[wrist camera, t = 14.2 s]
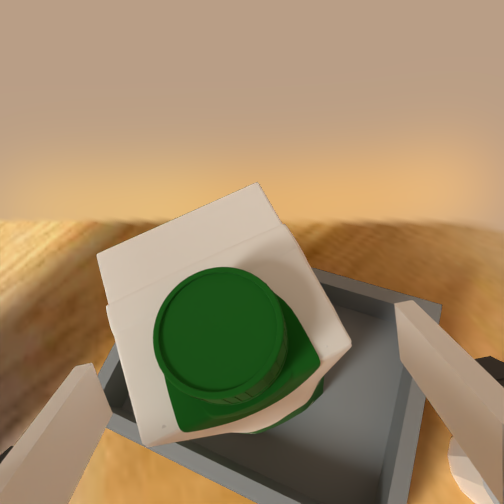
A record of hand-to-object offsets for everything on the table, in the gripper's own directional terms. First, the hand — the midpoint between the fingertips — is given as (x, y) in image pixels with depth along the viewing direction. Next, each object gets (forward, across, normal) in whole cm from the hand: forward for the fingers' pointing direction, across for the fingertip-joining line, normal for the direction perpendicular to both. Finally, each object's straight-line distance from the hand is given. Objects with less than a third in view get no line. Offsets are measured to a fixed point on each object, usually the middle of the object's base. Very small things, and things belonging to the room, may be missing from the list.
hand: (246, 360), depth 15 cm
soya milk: (+12, -1, -9) cm, 15 cm away
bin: (+12, 0, -10) cm, 16 cm away
